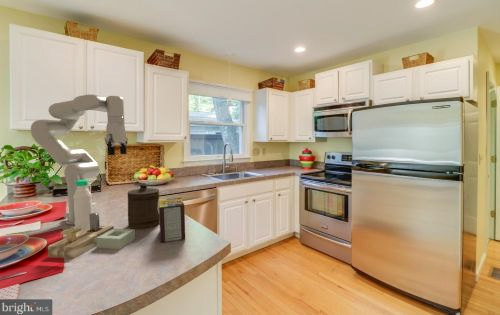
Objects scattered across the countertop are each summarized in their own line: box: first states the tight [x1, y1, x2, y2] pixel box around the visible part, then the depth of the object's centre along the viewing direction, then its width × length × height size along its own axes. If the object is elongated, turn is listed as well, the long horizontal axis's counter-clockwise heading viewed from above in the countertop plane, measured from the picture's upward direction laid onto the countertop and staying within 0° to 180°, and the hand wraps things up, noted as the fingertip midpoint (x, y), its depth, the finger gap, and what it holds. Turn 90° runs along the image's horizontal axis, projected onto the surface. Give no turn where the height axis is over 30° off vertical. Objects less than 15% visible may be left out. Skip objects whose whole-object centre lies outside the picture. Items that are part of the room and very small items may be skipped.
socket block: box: [47, 225, 115, 259], centre depth 100 cm, size 10×22×5 cm, turn 173°
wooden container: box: [127, 182, 160, 231], centre depth 124 cm, size 15×15×22 cm
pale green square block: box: [96, 228, 136, 250], centre depth 101 cm, size 10×10×5 cm
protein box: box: [159, 197, 186, 244], centre depth 112 cm, size 10×15×16 cm
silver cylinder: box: [89, 212, 101, 232], centre depth 105 cm, size 4×4×11 cm
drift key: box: [60, 227, 81, 243], centre depth 94 cm, size 4×4×5 cm
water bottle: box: [73, 179, 93, 233], centre depth 114 cm, size 7×7×25 cm
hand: (117, 154), depth 126 cm, fingers open, 9 cm apart
